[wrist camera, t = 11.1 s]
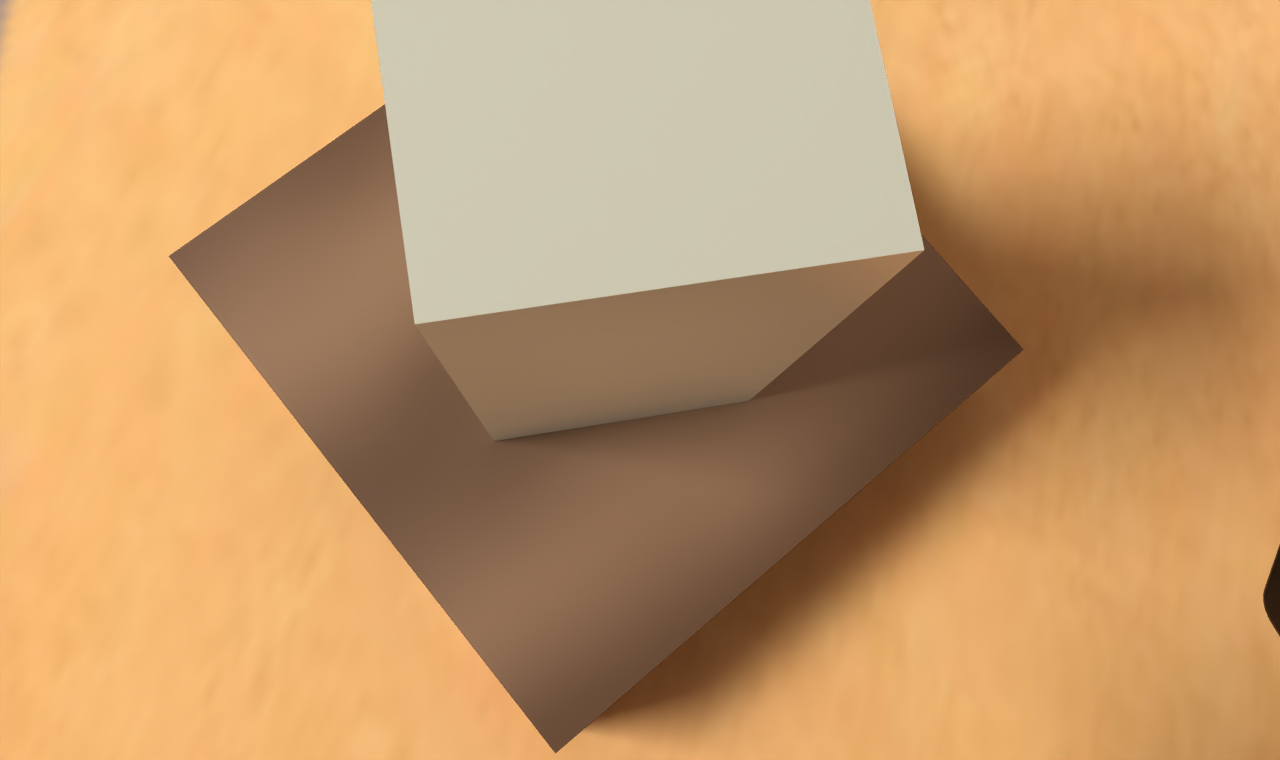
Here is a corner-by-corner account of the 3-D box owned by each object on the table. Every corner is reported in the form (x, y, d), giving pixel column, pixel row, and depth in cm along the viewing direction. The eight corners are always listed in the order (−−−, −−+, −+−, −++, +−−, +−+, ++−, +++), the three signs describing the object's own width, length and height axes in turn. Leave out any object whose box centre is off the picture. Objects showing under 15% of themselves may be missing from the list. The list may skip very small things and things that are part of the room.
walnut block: (958, 382, 24) (1023, 349, 20) (558, 724, 22) (555, 753, 18) (635, 11, 25) (644, -78, 22) (229, 303, 23) (168, 256, 20)
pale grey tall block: (748, 400, 20) (925, 250, 10) (493, 441, 19) (414, 324, 10) (703, 160, 21) (826, -199, 11) (457, 193, 20) (350, -151, 10)
